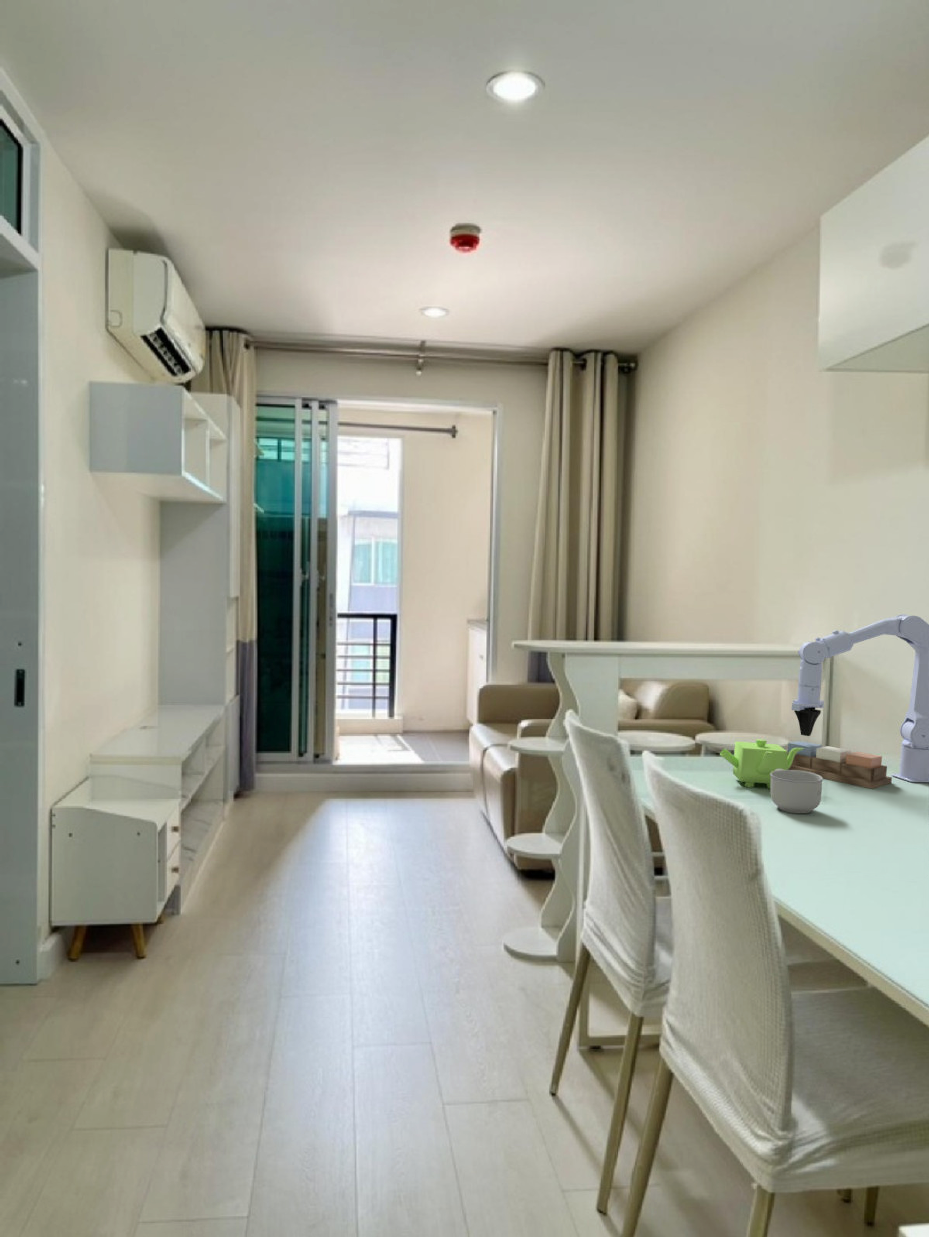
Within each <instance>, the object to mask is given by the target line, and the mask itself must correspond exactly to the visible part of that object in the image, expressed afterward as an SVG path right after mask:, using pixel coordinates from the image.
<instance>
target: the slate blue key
mask: <svg viewBox="0 0 929 1237" xmlns="http://www.w3.org/2000/svg"><path fill="white" fill-rule="evenodd" d="M821 747H823V746H822V744H817V743H813V742H808V741H807V742H806V741H802V740H797V741H791V742H788V743H787V751H788V752H789V753H790V751H791V750H792V749H793V748H804V749H802V750H800V751H798V752H797V753H796V754H799V755H804V756H810V757H813V756H816V751H817V748H821Z"/></svg>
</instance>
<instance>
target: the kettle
mask: <svg viewBox="0 0 929 1237" xmlns="http://www.w3.org/2000/svg"><path fill="white" fill-rule="evenodd" d="M767 742H768V741H767V740H766V739H761V738H759V739H755V742H747V741H735V742H734V751H733V752H734V754H733V753H731V752H730V751H729V750H728V749H727V748H724V749H723V750H721V752H720V753H719V756H721V757H722V758H723V759H724V760H726V761H727V762H728V763H730V764H731V765H733V767H732V774H733V775H734V776H735V777H736V779H737V780H739V781H740V782H741V783H744V787H747V788H755V784H756V783H757V784H765V785H766V788H767V789H770V790H771V776H770V773H771V772H773V771H775V770H776V769H783V770H788V769H789V768H790V766H791V764H792V762H793V759H794V756H795V754H796V753H797V752H798V751H800V750H802V749H804V748H793V749H792V750H791V751H790V753H789V755H788V752H787V751H788V750H787V749H785V748H783V747H782V746H781V745H779V744H775V743H773V744H772V743H767ZM787 755H788V757H787Z"/></svg>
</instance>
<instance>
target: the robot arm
mask: <svg viewBox="0 0 929 1237" xmlns="http://www.w3.org/2000/svg"><path fill="white" fill-rule="evenodd" d="M831 632H832V633H831V634H829V635H825V636H823V637H819V636H818V637H815V639H814V640H815V641H806V642H804V643H803V644H802V645H801V646H800V648H799V650H798V651H797V652H798V657H799V658H800V662H799V663H800V664H799V665H800V666H799V670H798V671H799V672H798V683H797V684H798V685H797V696H796V697H797V698H796V699H793V700H792V702H791V711H794V714H795V715H796V718H797V721H798V724H799V732H800V735H801V736H804V737H811V735H812V732H813V730H814V726H815V724H816V722H817V719H818V718H819V717H820V715H821V713H822V711H821V709H824V706H825V704H824V703H825V701H824V700H821V690H822V677H823V676H822V674H823V662H824V661H825V659H829V658H832V657H835V656H838V655H840V654H845V653H846V652H849V651H851V650H852V649H853V647H854V645H855V644H858V643H860V642H864V641H867V640H871V639H873V638H876V637H880V636H882V635H885V636H886V635H888V636H889V635H890V636H895V637H896V638H899V639H901V640H902V641H904V642H906V643H907V644H908V645H909V646H910V647H911V648H912V649H913V650H914V651H915V654H914V661H913V662H914V664H913V669H912V670H913V671H912V679H911V688H910V699H909V705H908V706H909V707H908V710H907V711H906V713H905V717H904V720H903V722H902V723H901V725H900V727H899V728H900V729H899V732H900V736H901V737H902V738H903V740H902V741H901V746H900V756H899V757H900V760H899V768H898V770H899V771H898V772H899V773H891V774H890V775H891V776H893V777H894V778H898V779H900V780H901V779H902V780H904V781H908V782H910V783H929V623H928V622H927V621H925V620H924V619H923V618H922V617H921V616H918V615H908V614H899V615H897V616H891V617H886V618H883V619H880V620H878V621H875V622H873V623H870V624H868V625H866V626H863V627H860V628H858V629H855V630H853V631H851V632H846V631H845V630H840V631H839V630H838V629H836V630H835V629H834V630H832V631H831ZM819 708H820V710H819Z"/></svg>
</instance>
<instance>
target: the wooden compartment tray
mask: <svg viewBox="0 0 929 1237" xmlns="http://www.w3.org/2000/svg"><path fill="white" fill-rule="evenodd" d="M786 751H787V752H788V750H786ZM788 755H789V752H788ZM788 755H787V757H788ZM887 769H888V766H887V765H882V764H881V767H878V768H874V769H871V768H865V767H860V766H855V765H850V764H846V762H842V763H840V762H835V761H830V760H825V759H820V758H816V756H813V757H810V756H804V755H799V754H795V756H794V759H793V762H792V764H791V766H790V768H789V769H788V770H799V771H806V772H811V773H815V774H818V775H820V776H821V777H822V778H823V779H825V780H830V781H833V782H839V783H844V784H848V785H849V784H850V785H853V786H857V787H863V788H867V789H875V788H880V787H883V786H887V785H890V784H892V781H893V780H892V779H893V777H890V776H887V774H888V772H887Z"/></svg>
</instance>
